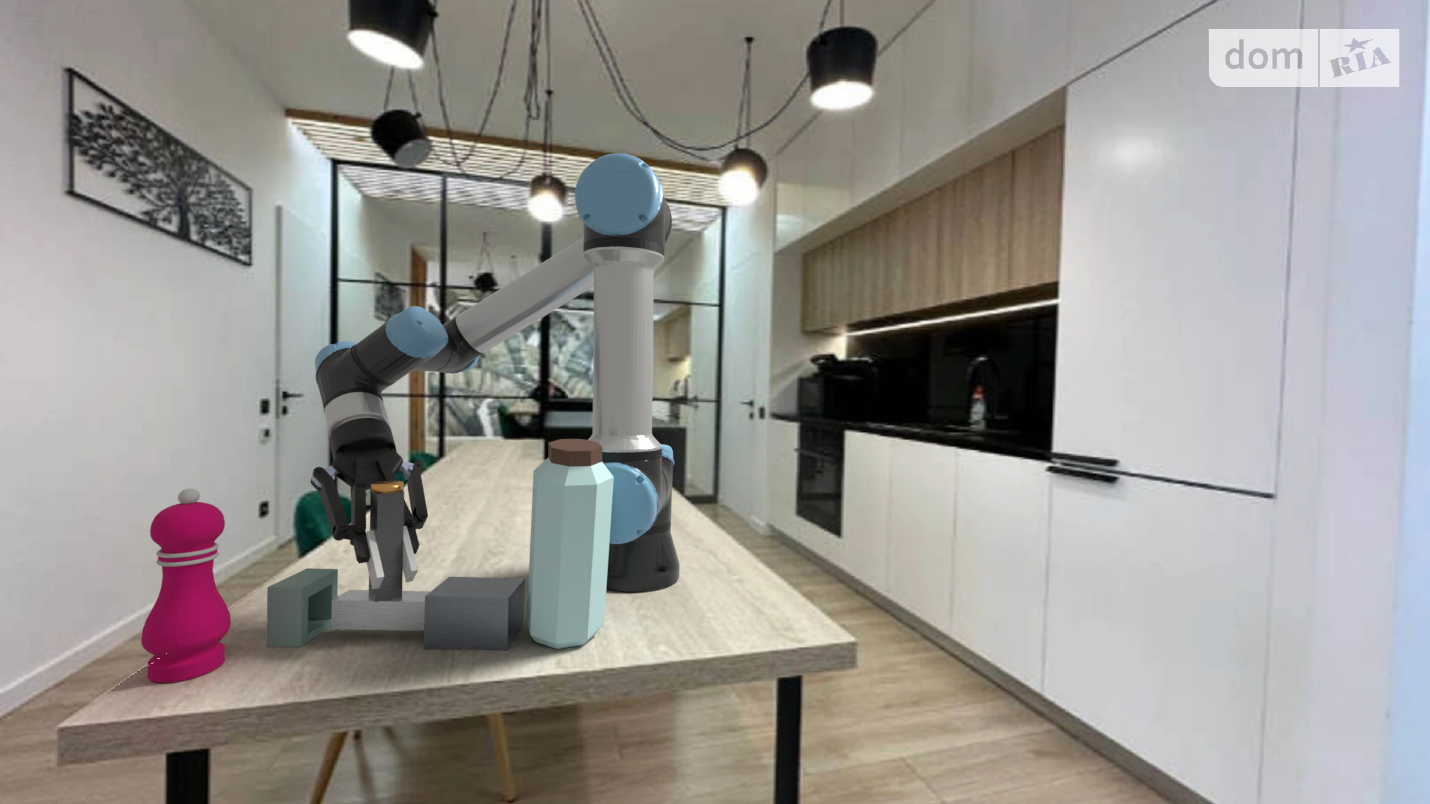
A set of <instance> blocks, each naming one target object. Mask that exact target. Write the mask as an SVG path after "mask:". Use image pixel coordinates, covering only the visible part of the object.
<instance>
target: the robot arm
mask: <svg viewBox="0 0 1430 804" xmlns="http://www.w3.org/2000/svg"><path fill="white" fill-rule="evenodd" d="M663 189H664V188H663V186H662V183H661V180H660V178H659V177H658V175H657V173H655V172H654V171H653V169H652V168H651V166H650V165H648V164H647V163H646V162H645V161H644V160H642V159H641V158H639V157H637V156H636V155H635V156H634V155H631V154H628V153H621V152H620V153H617V152H616V153H615V152H614V153H608V154H605V155H602V156H600V157H598V158H596V159H594V160H593V161H592V162H590V163H589V164H588V165H587V166H586V167H585V168H584V169H583V170H582V171H581V174H580V175H579V177H578V179H577V182H576V184H575V189H574V200H575V201H574V202H575V206H576V210H577V214H578V216H579V218H580V220H581V221H582V222H583V233H582V237H581V238H580V239H578V240H577V241H575V242H573V243H572V244H570V245H568V246H567V247H565V248H564V249H562V250H560V251H559V252H557V253H556V254H554V255H552V256H551V257H549V258H548V259H546V260H544V261H543V262H541V263H540V264H538V265H537V266H535V267H533V268H532V269H530V270H528V271H526V272H525V273H523V274H522V275H521V276H519V277H517V278H516V279H513V280H512V281H511V282H510V283H508V284H506V285H504V286H503V287H501V288H499V289H497V291H495V292H493V293H491V294H489V296H486V297H485V298H483V299H481V300H480V301H479V302H477V303H476V304H473V305H472V306H470V307H469V308H467V309H466V310H464V311H463V312H461V313H460V314H458V315H456V316H455V317H453V318H452V319H450V320H448V321H447V322H445V323H443V324H442V323H441V321H440V320H439V319H438V318H437V317H436V316H435V315H434V314H433V313H431V312H429V311H427V310H426V309H425V308H424V307H421V306H417V305H412V306H409V307H407V308H406V309H404V310H402V311H401V312H399V313H396V314H394V315H393V316H391V317H390V318H389V319H388V320H387V321H386V322H384V323H383V324H382V325H380V326H379V327H378V328H376V329H375V330H373V332H371V333H369V335H367V336H365V337H364V338H362V339H361V340H360V341H359V342H355V341H349V340H341V341H338V342H336V343H333V344H331V343H329V344H327V345H325V346H324V347H322V348H321V349H320V350H319V351H318V353H317V354H316V357H315V360H314V366H315V375H314V376H315V382H316V385H317V387H318V391H319V394H320V398H321V403H322V407H323V413H324V418H325V419H324V420H325V423H326V428H327V434H328V437H329V438H328V439H329V440H328V441H329V445H330V450H331V455H332V460H333V461H332V462H331V465H329V466H327V467H323V466H322V467H321V466H316V467H315V468H313V471H312V474H311V478H310V485H312V487H313V488H314V489H315V490H316V491H317V492H318V493H319V495H320V499H321V502H322V505H323V507H324V511H325V515H326V519H327V521H328V525H329V527H330V531H331V534H332V538H333V540H335V541H338V542H339V541H340V542H341V541H343V540H347V541H349V544H350V545H351V546H353V550H354V553H355V554H354V555H355V559H356V561H357V563H358V564H365V563H366V566H367V571H368V578H369V577H370V581H371V586H372V589H377V588H379V587H380V585H381V583H382V581H383V578H384V573H383V568H382V564H381V560H380V555H379V551H378V546H377V542H376V538H375V533H374V530H373V531H370V530H367V497H366V496H367V491H368V490H371V483H374V482H379V481H398V480H397V477H396V476H397V475H398V473H399V472H400V471H401V472H402V473H403V477H404V480H407V482H406V484H407V485H406V486H407V492H408V497H409V504H410V505H408V503H407V502H406V500H405V499H404V531H403V576H404V580H405V583H410V582H413V581H414V579H415V577H416V575H417V573H418V572H419V568H418V564H417V561H416V557H415V555H416V554H417V553H418V550H419V547H420V540H419V538H418V533H417V530H422V529H423V528H424V525H425V524H426V522H427V519H428V517H429V513H428V508H427V502H426V495H425V491H424V484H423V479H422V472H423V467H424V465H425V464H424V462H423V461H421V460H416V461H414V463H412V462H409V461H405V460H404V459H403V457H402V456H401V455H400V454H399V453H398V451H397V446H396V442H395V440H394V439H395V438H394V434H393V432H392V428H391V425H390V421H389V417H388V414H387V411H386V407H385V406H386V405H385V403H384V397H383V394H382V392H383V391H385V390H386V389H387V388H389V387H390V386H392V385H394V384H395V383H397V382H398V381H399V380H401V379H402V378H404V377H405V376H407V375H408V374H410V373H411V372H434V373H443V374H444V373H445V374H459V373H464V372H467V371H469V370H471V369H472V368H473V367H475V366H476V364H477V362H478V361H479V359H480V357H481V356H482V355H483V354H485V353H487V352H489V351H490V350H492V349H493V348H495V347H496V346H498V345H500V344H502V343H503V342H505V341H506V340H508V339H510V338H511V337H513V336H514V335H516V334H517V333H519V332H521V331H523V330H524V329H526V328H527V327H529V326H531V325H532V324H534V323H536V322H538V321H539V320H541V319H543V318H544V317H546V316H547V315H549V314H550V313H552V312H554V311H555V310H557V309H559V308H561V307H562V306H564V305H565V304H567V303H568V302H570V301H572V300H574V299H575V298H576V297H578V296H580V295H582V294H584V292H587V291H588V290H589V289H591V288H593V339H592V340H593V346H592V347H593V350H592V351H593V352H592V353H593V356H592V357H593V358H592V361H593V363H592V369H593V370H592V434H591V436H590V437H589V438H588V439H587V440H589V441H594V442H598V443H599V444H600V445H601V446H602V462H603V464H604V465H605V466H606V468H607V469H608V470H609V471H610V473H611V474H612V475H613V477H614V481H613V496H612V511H611V526H610V541H609V556H608V571H607V586H606V590H611V591H612V590H613V591H617V592H618V591H619V592H620V591H621V592H647V591H654V590H655V591H656V590H659V589H664V588H667V587H669V586H671V585H673V584H676V582H678V580H679V579H680V570H681V568H680V566H681V565H680V560H679V558H678V554H677V550H676V547H675V542H674V539H673V536H672V529H671V527H672V526H671V525H672V503H673V502H672V501H673V497H672V496H673V472H674V471H673V469H674V466H675V460H674V452H673V449H672V446H670V445H668V444H662V443H660V442H659V441H658V440H657V439H656V437H654V435H653V376H654V375H653V372H654V371H653V370H654V369H653V365H654V358H653V357H654V287H655V285H654V284H655V283H654V282H655V281H654V279H655V278H654V277H655V276H654V274H655V271H656V269H658V268H659V267H660V266H661V264H663V263H664V262H665V248H666V247H665V246H666V244H667V243H668V240H669V239H670V236H671V233H672V230H673V229H672V228H673V218H672V217H673V216H672V211H671V209H670V206H669V204H668V202H667V200H666V198H665V194H664V193H663V191H664V190H663ZM336 478H338V479H339V480H340V481H342V482H343V483H345V484H346V485H347V486H349V487H350V500H351V501H350V502H351V503H350V504H351V505H350V510H351V511H350V512H351V513H350V524H349V522H348V519H347V516H346V512H345V511H344V507H343V504H342V501H341V497H340V495H339V492H338V489H337V486H336V483H335V479H336ZM409 506H410V508H409ZM366 530H367V531H366Z"/></svg>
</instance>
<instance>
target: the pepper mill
mask: <svg viewBox="0 0 1430 804" xmlns="http://www.w3.org/2000/svg"><path fill="white" fill-rule="evenodd" d="M200 497H201V494H200V492H199V490H197V489H196V488H186V489H183V490H181V491H180V492H179V493H178V496H177V500H178V502H179V503H176V504H173V505H170V506H168V507H165V508H164V509H162V510H160V512H158V513H157V514H156V515H155V516H154V518H153V520H152V522H151V524H150V529H149V533H150V534H149V535H150V538H151V540H152V541H153V543H155V544H156V545H158V546H159V547H160V549H159V550H157V551H156V556H157V560H156V562H155V563H156V564H157V565H158V566H160V567H161V571H162V573H161V574H162V578H161V585H160V590H159V593H158V596H157V598H156V601H155V603H154V605H153V607H152V609H151V610H150V611H149V614H148V615H147V617H146V619H145V622H144V624H143V627H142V631H141V640H140V643H141V647H142V648H143V649H144V650H145V651H146V652H147V653H149V654H151V655H152V656H151V658H149V660H148V661H147V671H146V672H147V679H148V680H149V681H150V682H153V683H155V684H157V683H159V684H167V683H170V684H172V683H177V682H178V683H179V682H183V681H187V680H192V679H195V678H198V677H201V676H204V675H206V674H208V673H211V672H213V671H215V670H216V669H218V668H220V667H221V666H222V665H223V664H224V662H225V660H226V654H225V653H226V645H225V644H224V643H222V642H221V640H223V638H224V637H226V635H227V634H228V633H229V632H230V629H231V625H232V622H231V621H232V620H231V612H230V610H229V608H228V605H227V604H226V603H227V602H225V600H224V599H223V597H222V595H221V594H220V592H219V590H218V588H217V585H216V582H215V575H214V562H215V561H214V559H216V558H217V557H218V556H219V554H220V553H219V551H218V548H219V547H220V545H219V543H217V542H216V540H217V539H218V538H219V537H220V536H221V535H222V534H223V532H224V529H225V527H226V526H225V524H226V521H225V516H224V514H223V512H222V510H220V509H219V508H218V507H217V506H215V505H214V504H211V503H208V502H202V501H199V500H200ZM166 653H167V654H166ZM157 658H160V659H157ZM153 662H154V663H153ZM151 663H153V664H151ZM148 665H149V666H148Z"/></svg>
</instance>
